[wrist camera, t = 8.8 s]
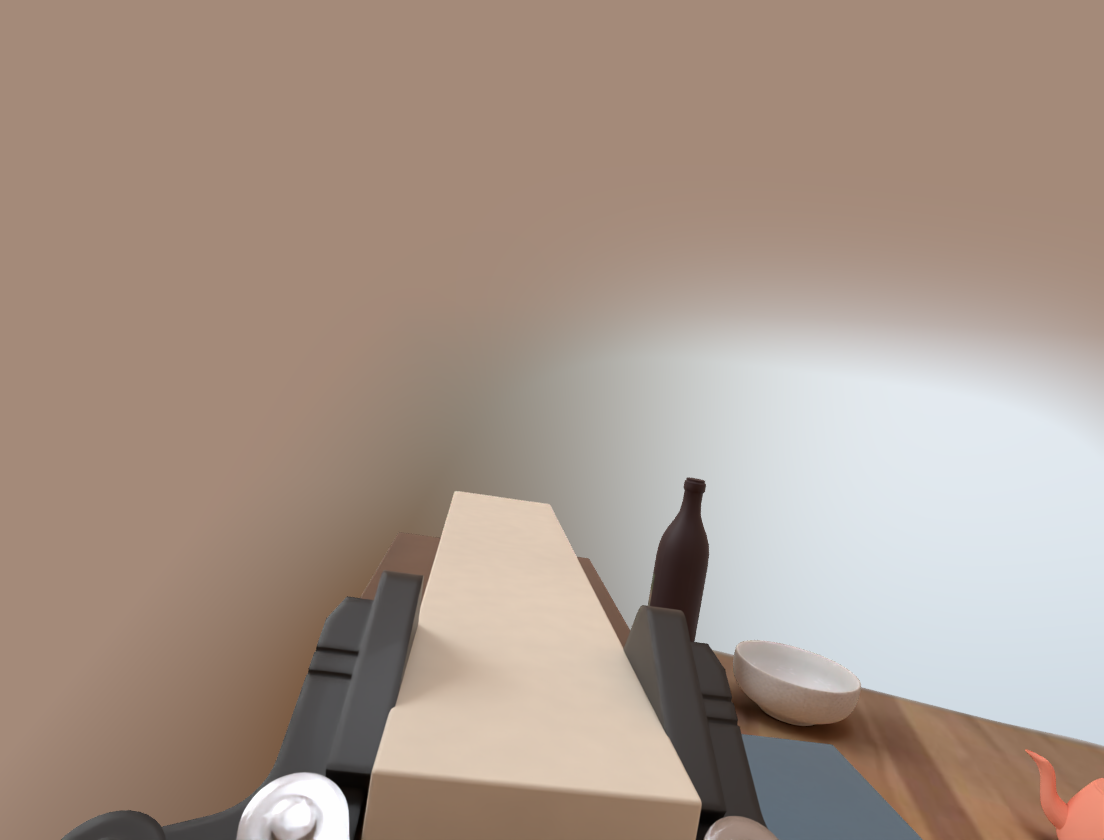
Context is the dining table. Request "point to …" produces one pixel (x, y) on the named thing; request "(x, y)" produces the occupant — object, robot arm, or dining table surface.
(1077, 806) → the teapot
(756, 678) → the cereal bowl
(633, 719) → the slat
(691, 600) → the wine bottle
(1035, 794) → the dining table surface
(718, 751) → the robot arm
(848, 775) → the container
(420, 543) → the stand
